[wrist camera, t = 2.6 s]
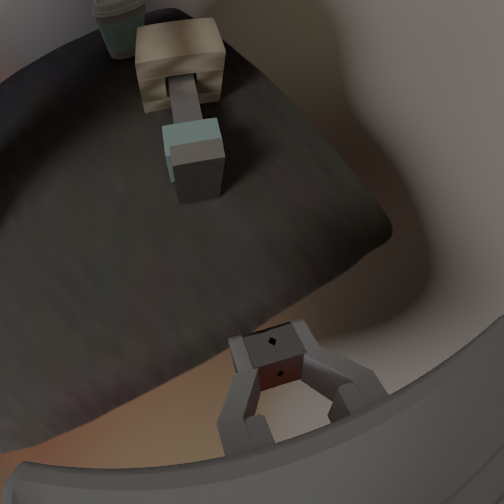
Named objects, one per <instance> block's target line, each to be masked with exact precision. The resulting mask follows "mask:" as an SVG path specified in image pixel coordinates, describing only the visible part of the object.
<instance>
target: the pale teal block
mask: <svg viewBox="0 0 504 504" xmlns="http://www.w3.org/2000/svg"><path fill="white" fill-rule="evenodd" d="M162 131H163V140H164V148H165V156H166V161H167V166H168V171H169V176H170V180H171V182H175V179H174V174H173V168H172V162H171V155H170V148H169V146H174V145H180V144H185V143H191V142H197V141H204V140H210V139H217V138H221V141H222V137H221V133H220V129H219V125H218V121H217V118H210V119H203V120H196V121H189V122H183V123H177V124H172V125H166V126H162ZM222 145H223V141H222ZM223 148H224V145H223Z"/></svg>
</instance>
